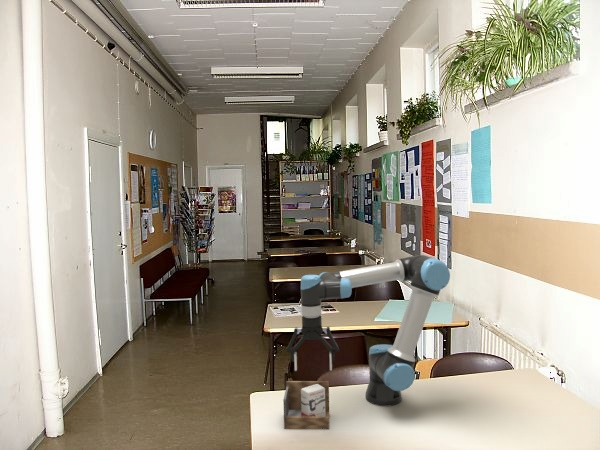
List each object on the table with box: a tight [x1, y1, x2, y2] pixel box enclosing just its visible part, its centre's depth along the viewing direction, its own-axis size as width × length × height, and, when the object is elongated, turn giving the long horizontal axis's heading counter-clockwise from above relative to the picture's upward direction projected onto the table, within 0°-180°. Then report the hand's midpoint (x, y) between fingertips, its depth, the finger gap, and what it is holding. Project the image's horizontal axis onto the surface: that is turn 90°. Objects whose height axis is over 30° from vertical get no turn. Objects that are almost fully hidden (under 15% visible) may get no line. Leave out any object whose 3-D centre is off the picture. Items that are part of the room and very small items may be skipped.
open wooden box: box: [283, 380, 330, 430], centre depth 198 cm, size 17×13×14 cm
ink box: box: [301, 384, 325, 417], centre depth 198 cm, size 8×5×12 cm, turn 125°
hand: (313, 369), depth 196 cm, fingers open, 13 cm apart
